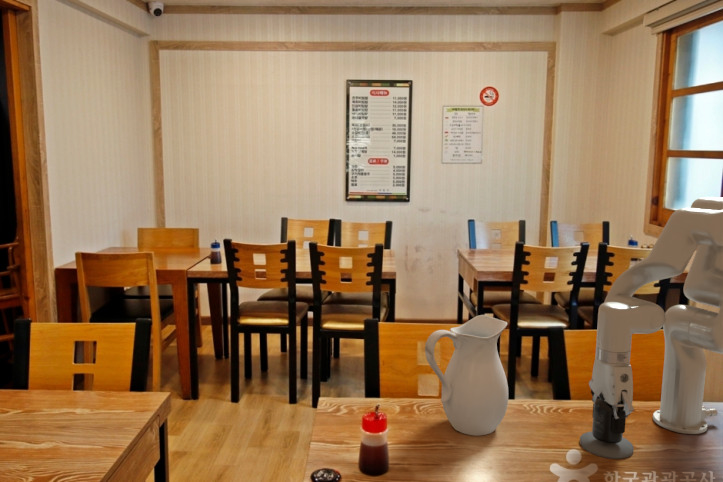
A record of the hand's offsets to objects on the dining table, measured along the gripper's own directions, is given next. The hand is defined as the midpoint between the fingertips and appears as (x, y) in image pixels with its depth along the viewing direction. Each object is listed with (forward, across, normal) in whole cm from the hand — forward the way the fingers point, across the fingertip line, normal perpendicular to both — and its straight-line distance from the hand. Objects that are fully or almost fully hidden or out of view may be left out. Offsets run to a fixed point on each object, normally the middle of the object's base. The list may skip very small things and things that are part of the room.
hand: (608, 424), depth 140 cm
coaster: (+5, 0, 0) cm, 5 cm away
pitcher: (+6, +15, +31) cm, 35 cm away
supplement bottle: (+3, 0, 0) cm, 3 cm away
